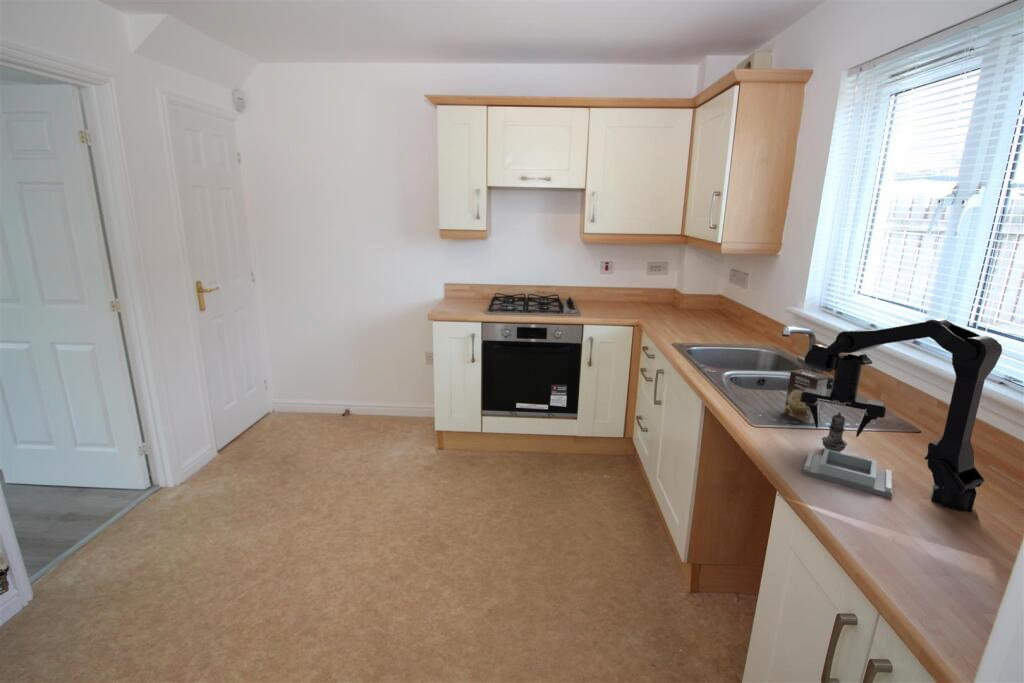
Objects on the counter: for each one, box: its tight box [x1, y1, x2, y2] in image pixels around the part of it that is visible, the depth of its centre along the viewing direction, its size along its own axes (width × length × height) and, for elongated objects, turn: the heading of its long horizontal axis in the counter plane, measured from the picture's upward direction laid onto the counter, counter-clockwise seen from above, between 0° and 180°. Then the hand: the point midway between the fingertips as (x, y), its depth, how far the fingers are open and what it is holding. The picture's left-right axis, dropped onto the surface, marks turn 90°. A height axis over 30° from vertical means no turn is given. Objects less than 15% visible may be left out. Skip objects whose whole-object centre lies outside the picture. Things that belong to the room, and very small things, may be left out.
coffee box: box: [783, 368, 830, 424], centre depth 154 cm, size 9×6×16 cm
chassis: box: [801, 448, 893, 499], centre depth 121 cm, size 18×12×4 cm, turn 53°
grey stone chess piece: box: [821, 411, 848, 452], centre depth 133 cm, size 6×6×12 cm
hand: (836, 431), depth 133 cm, fingers open, 9 cm apart
